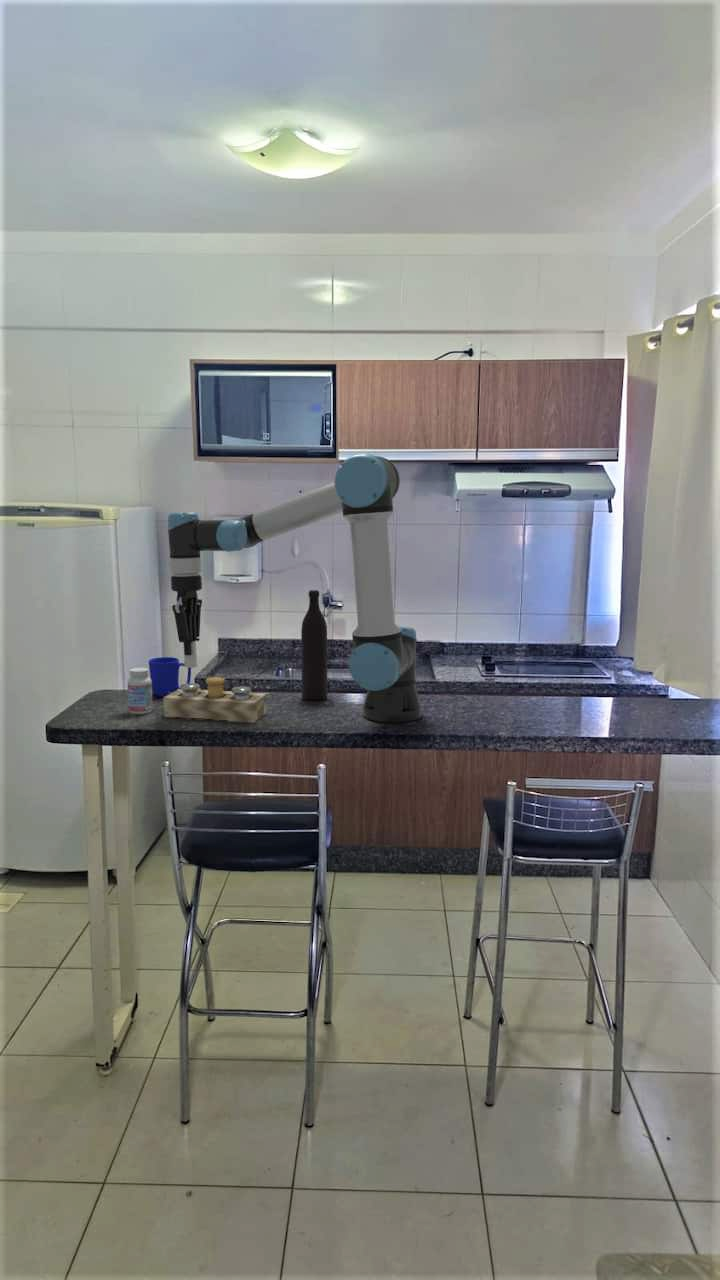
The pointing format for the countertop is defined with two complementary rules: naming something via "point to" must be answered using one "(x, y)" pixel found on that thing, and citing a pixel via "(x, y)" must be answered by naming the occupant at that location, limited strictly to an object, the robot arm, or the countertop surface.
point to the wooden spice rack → (216, 706)
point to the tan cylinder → (215, 687)
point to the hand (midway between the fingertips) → (190, 666)
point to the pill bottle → (139, 691)
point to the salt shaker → (190, 689)
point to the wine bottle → (314, 651)
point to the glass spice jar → (241, 692)
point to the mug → (165, 675)
